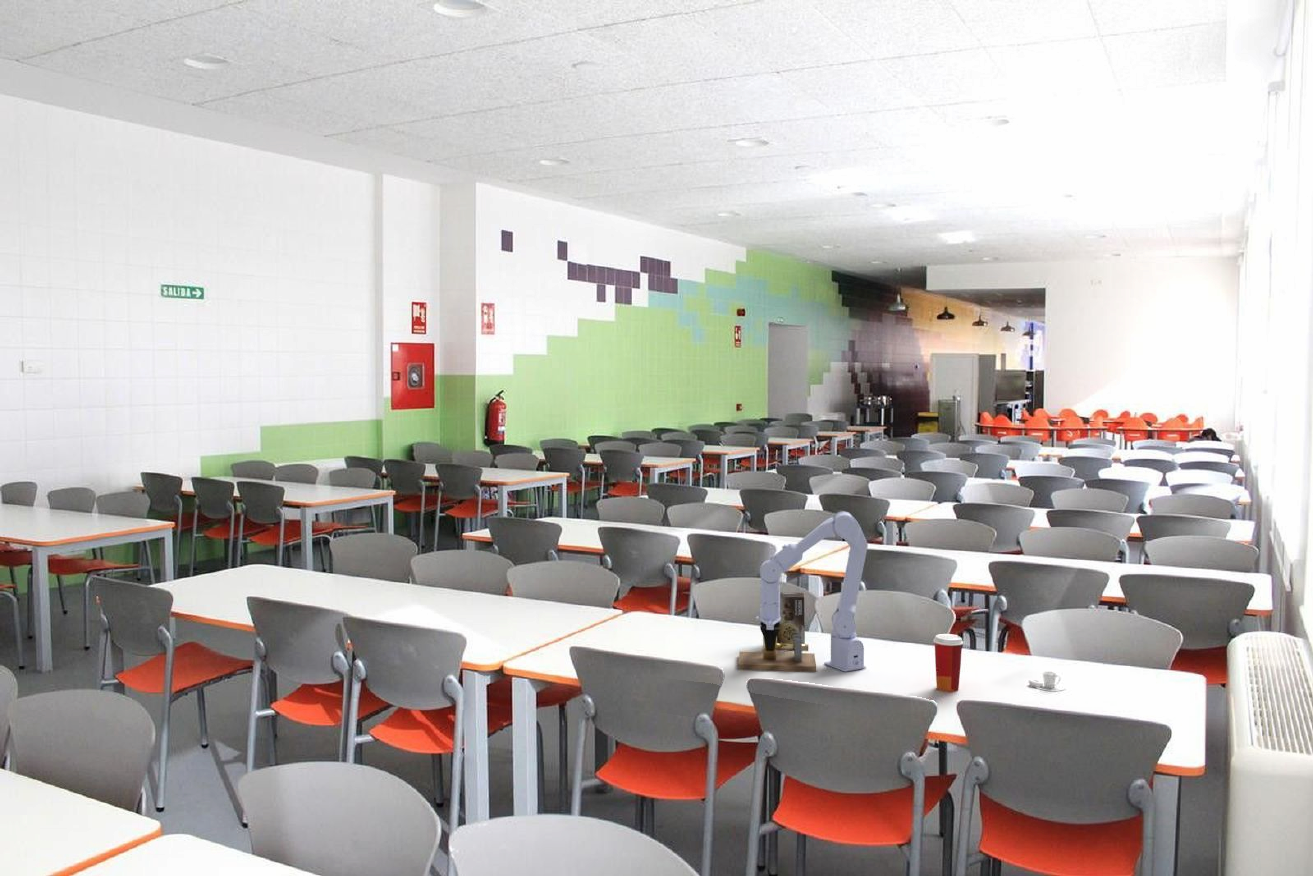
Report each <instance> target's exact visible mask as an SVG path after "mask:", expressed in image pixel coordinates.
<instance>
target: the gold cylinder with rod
mask: <svg viewBox="0 0 1313 876" xmlns="http://www.w3.org/2000/svg"><path fill="white" fill-rule="evenodd" d="M778 651H783V652H785V651H786V652H787V651H788V652H790V651H791V652H794V644H782V643H777V637H776V642H775V647H774V651H766V647H765V641H764V637H763V636H762V652H763V658H764V659H776V658H777V653H778ZM802 652H809V643H805V644H802Z"/></svg>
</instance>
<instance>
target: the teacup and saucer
mask: <svg viewBox="0 0 1313 876" xmlns="http://www.w3.org/2000/svg"><path fill="white" fill-rule="evenodd" d="M1042 673H1043V674H1042V677H1043V681H1041V680H1039V679H1035V678H1029V680H1028V683H1029V685H1031V686H1033V687H1034V688H1036V689H1038V690H1042V691H1047V692H1060V691H1064V690H1065V689H1066V687H1065V686H1064V685H1062V684H1059V683H1060V681H1061V676H1060V675H1058V674H1057V675H1056V673H1055V671H1043V672H1042ZM1057 677H1058V678H1059V679H1058V681H1057V682H1056V679H1057ZM1043 685H1044V687H1045V688H1042V687H1043ZM1055 686H1058V687H1059V689H1052V688H1054V687H1055ZM1060 687H1062V688H1060Z"/></svg>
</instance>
